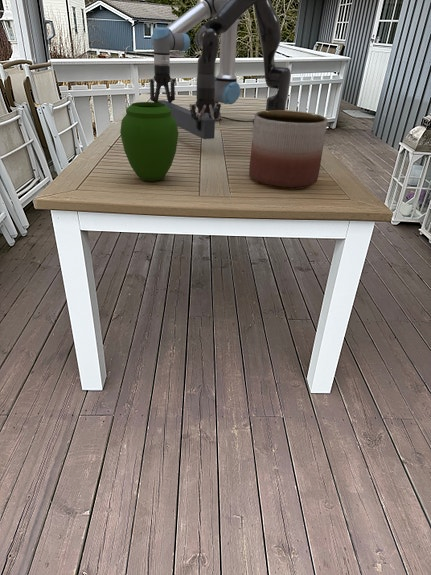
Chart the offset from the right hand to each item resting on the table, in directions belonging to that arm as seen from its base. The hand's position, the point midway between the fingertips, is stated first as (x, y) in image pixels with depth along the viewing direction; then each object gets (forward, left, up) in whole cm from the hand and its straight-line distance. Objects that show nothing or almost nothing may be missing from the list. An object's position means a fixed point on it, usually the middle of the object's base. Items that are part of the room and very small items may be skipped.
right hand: (204, 129), depth 175 cm
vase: (+43, +5, -10) cm, 44 cm away
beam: (-12, -21, -3) cm, 24 cm away
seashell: (-65, -5, -10) cm, 66 cm away
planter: (+13, +44, -10) cm, 47 cm away
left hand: (-24, -41, -2) cm, 48 cm away
